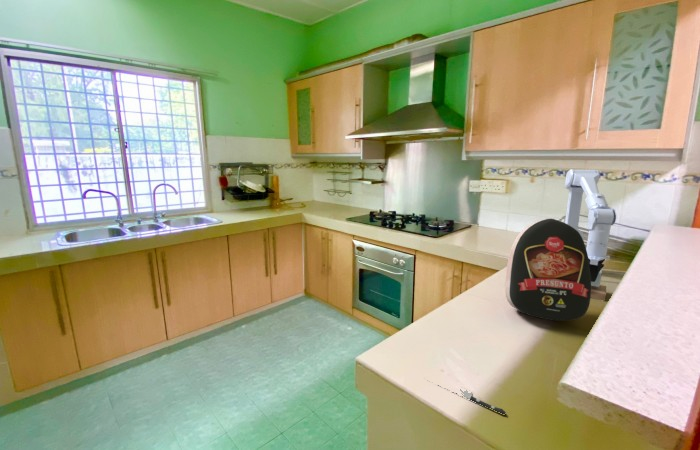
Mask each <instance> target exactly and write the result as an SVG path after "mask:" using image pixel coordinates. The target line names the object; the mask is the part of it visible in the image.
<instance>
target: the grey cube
mask: <svg viewBox="0 0 700 450" xmlns="http://www.w3.org/2000/svg"><path fill="white" fill-rule="evenodd" d="M602 275H603V269H601V270H600V272H599V274H598V276H597V279H596V281H595V282H592V281H591V286H597V287H600V285H601V280H602Z"/></svg>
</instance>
